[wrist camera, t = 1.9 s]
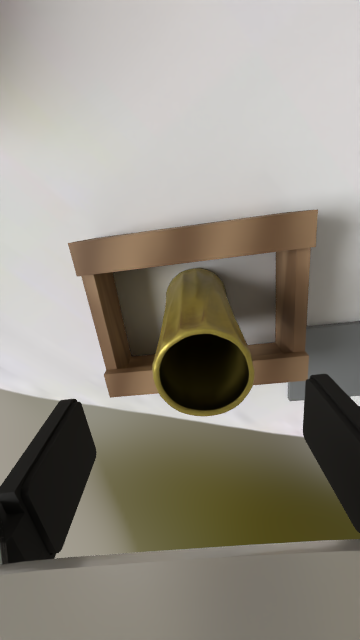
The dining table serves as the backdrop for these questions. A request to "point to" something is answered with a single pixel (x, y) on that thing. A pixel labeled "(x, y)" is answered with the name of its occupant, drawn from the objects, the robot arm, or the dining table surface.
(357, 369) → the mat
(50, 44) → the dining table surface
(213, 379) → the vase
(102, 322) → the frame
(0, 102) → the dining table surface
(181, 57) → the dining table surface
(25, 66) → the dining table surface
